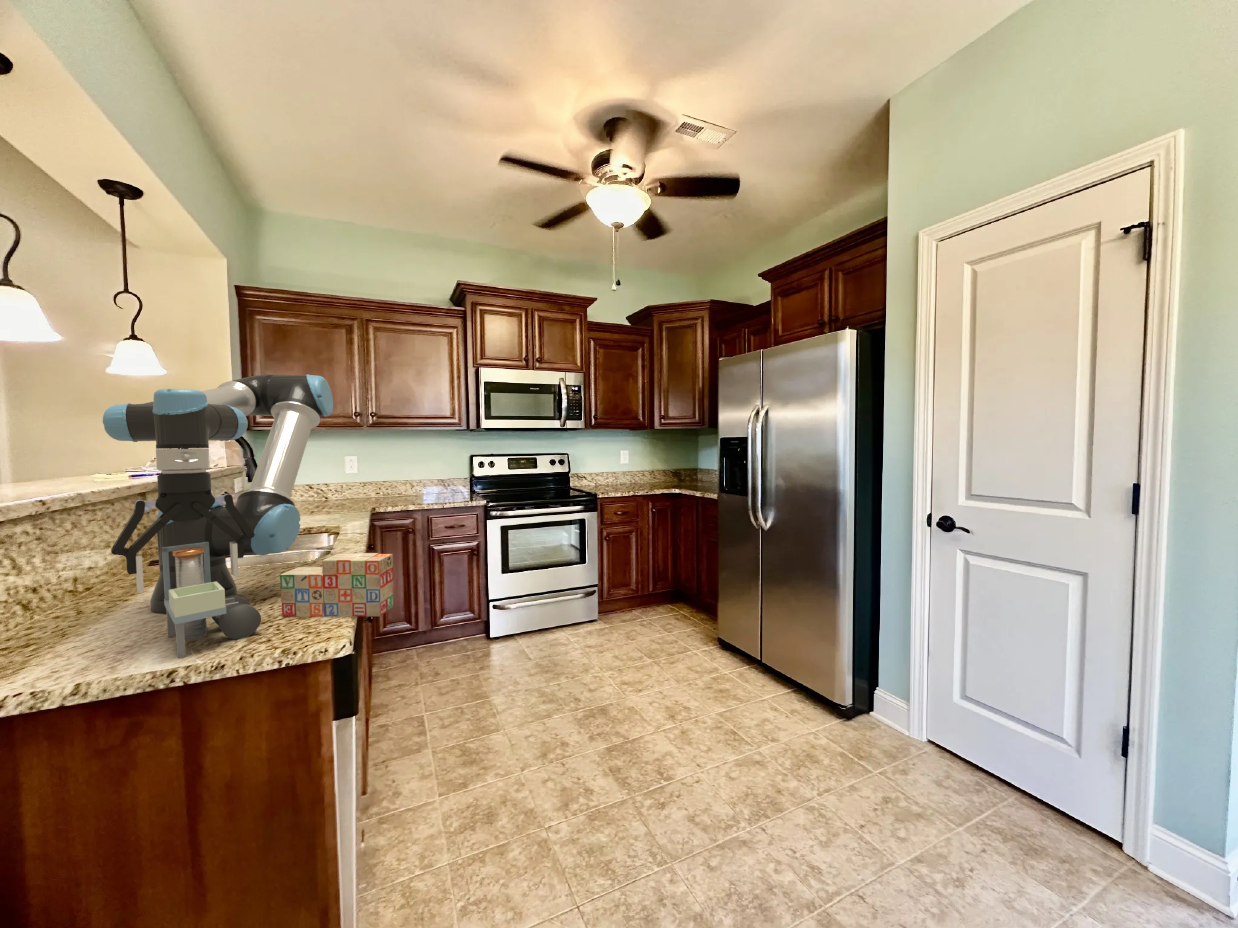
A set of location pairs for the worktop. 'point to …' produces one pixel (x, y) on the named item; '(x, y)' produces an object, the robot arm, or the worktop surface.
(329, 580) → the stack of blocks
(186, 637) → the orange capped bottle
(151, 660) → the worktop surface
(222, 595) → the tray
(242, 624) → the cart
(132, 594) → the worktop surface
